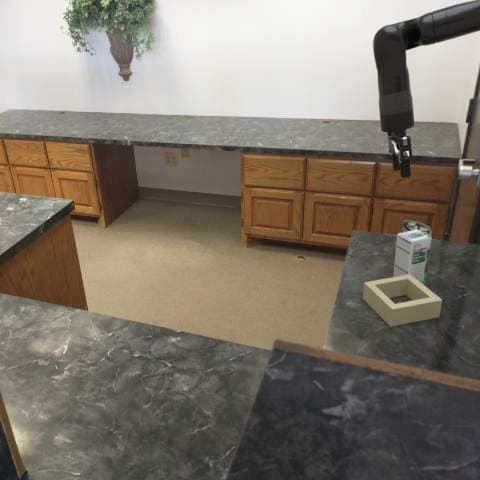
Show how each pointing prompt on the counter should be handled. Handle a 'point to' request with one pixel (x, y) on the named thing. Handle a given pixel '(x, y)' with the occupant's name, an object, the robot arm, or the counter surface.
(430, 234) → the food container
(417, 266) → the syrup box
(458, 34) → the robot arm
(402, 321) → the frame
